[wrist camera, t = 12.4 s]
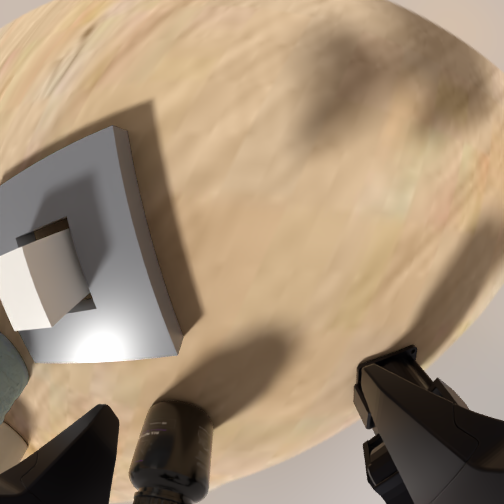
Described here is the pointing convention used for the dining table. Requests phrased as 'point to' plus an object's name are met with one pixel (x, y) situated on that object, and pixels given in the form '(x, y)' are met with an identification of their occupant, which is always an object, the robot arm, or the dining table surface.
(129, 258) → the socket
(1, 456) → the travel mug
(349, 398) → the dining table surface
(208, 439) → the supplement bottle
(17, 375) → the teal cup
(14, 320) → the plug
